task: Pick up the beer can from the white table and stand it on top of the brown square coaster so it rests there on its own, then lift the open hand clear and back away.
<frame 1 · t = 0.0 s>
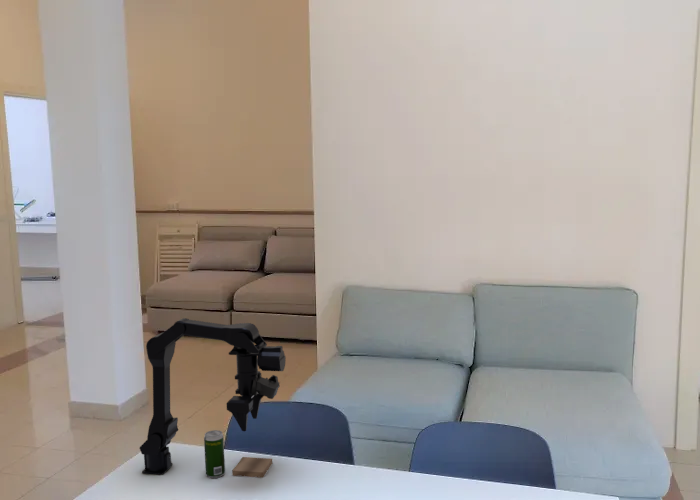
hand: (249, 424, 179), 15 cm above the table, tool pointing down, fingers open, 9 cm apart
beer can: (215, 475, 181), on the table
brown square coaster: (252, 471, 184), on the table
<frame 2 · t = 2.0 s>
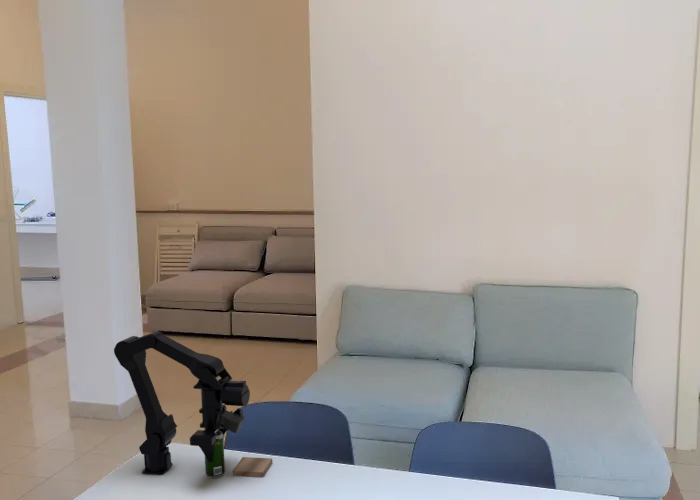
hand: (214, 457, 181), 5 cm above the table, tool pointing down, fingers closed on beer can, 5 cm apart
beer can: (215, 475, 181), on the table, touching gripper
everything else where it was.
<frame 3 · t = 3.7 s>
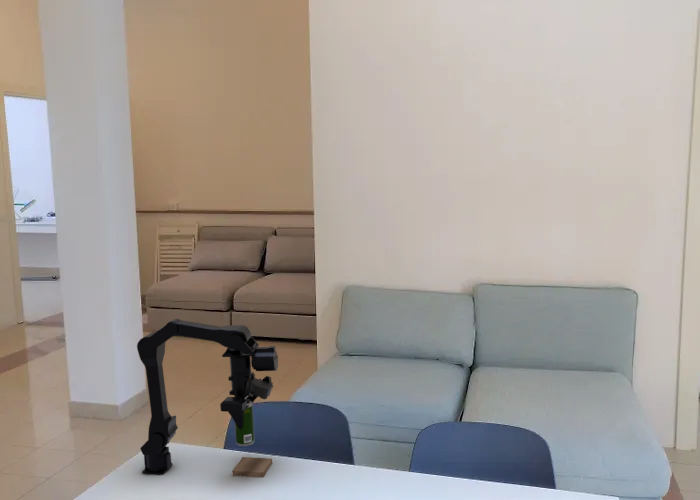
hand: (244, 424, 182), 13 cm above the table, tool pointing down, fingers closed on beer can, 5 cm apart
beer can: (245, 443, 182), point 8 cm above the table, touching gripper
everything else where it was.
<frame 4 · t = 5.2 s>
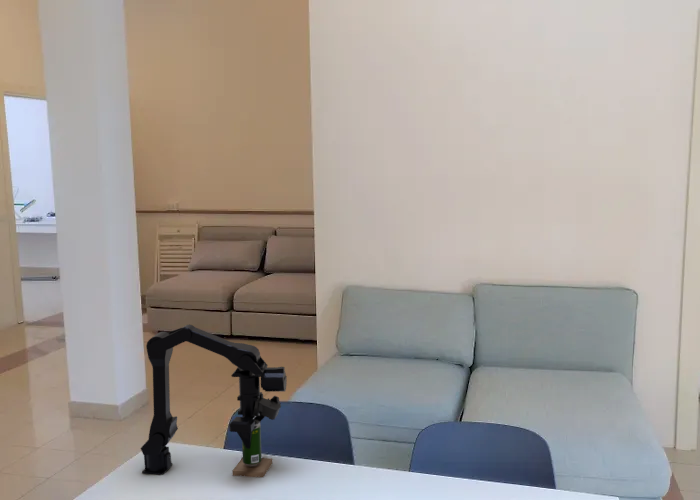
hand: (251, 444, 183), 7 cm above the table, tool pointing down, fingers closed on beer can, 5 cm apart
beer can: (252, 463, 184), point 2 cm above the table, touching gripper
everything else where it was.
when the fingers open (7 cm above the table, at t = 5.6 s): beer can stays where it is, point 2 cm above the table.
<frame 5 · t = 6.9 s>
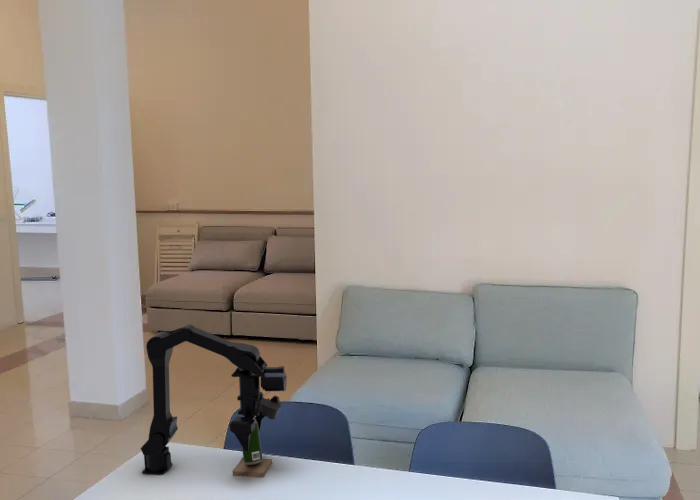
hand: (251, 444, 183), 7 cm above the table, tool pointing down, fingers open, 9 cm apart
beer can: (253, 463, 184), point 2 cm above the table, touching gripper
everything else where it was.
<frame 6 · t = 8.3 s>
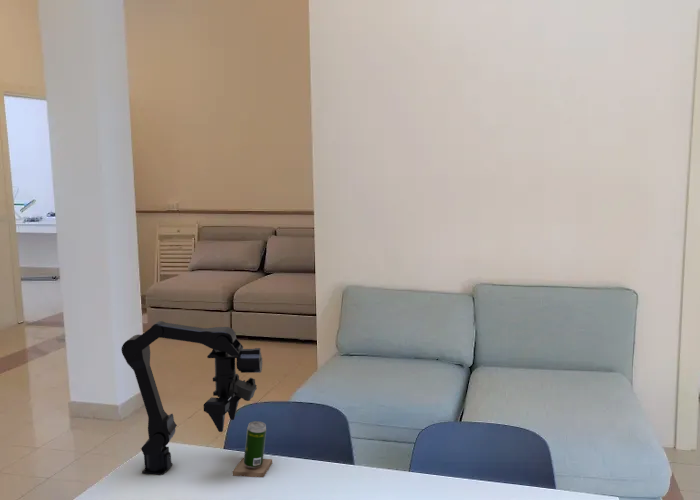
hand: (226, 425, 184), 13 cm above the table, tool pointing down, fingers open, 9 cm apart
beer can: (253, 465, 183), point 1 cm above the table
everything else where it was.
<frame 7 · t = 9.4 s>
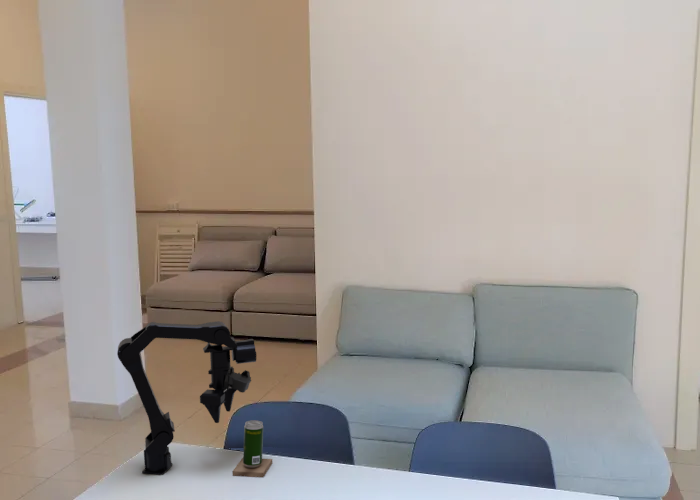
hand: (222, 416, 190), 13 cm above the table, tool pointing down, fingers open, 9 cm apart
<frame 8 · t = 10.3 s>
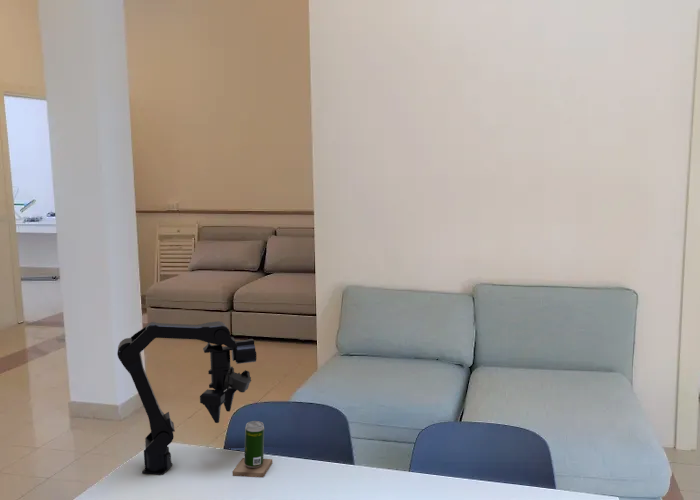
hand: (222, 416, 190), 13 cm above the table, tool pointing down, fingers open, 9 cm apart
nothing on the table moved.
at the end: beer can 0.2 cm from the brown square coaster (horizontally); beer can touching brown square coaster; beer can tilted 0° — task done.
